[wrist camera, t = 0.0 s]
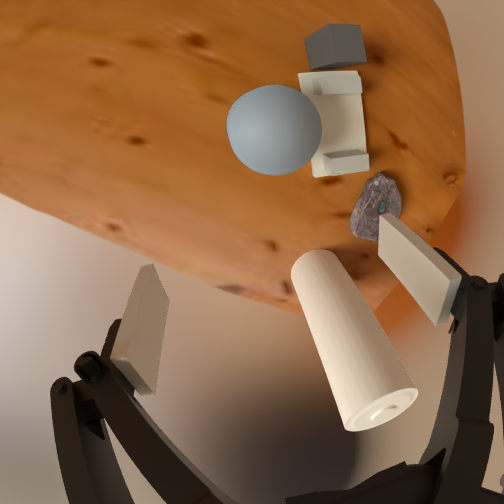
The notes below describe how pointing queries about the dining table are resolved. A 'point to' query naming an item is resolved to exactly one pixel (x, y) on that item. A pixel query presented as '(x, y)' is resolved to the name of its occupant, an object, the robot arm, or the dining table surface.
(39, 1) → the dining table surface
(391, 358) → the cylinder container
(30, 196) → the dining table surface
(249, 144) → the spool
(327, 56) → the gray rectangular block
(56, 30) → the dining table surface
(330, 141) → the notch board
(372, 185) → the rock
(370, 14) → the dining table surface
